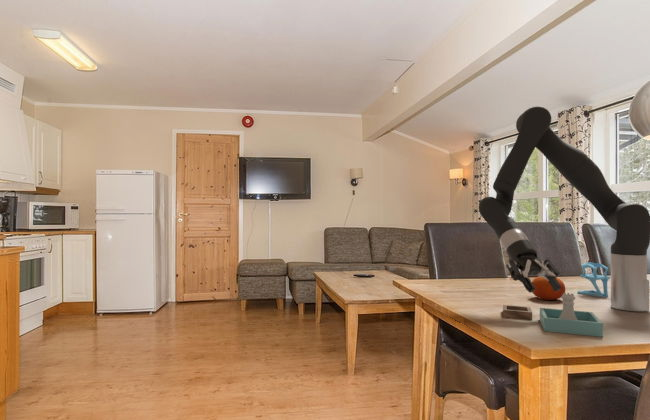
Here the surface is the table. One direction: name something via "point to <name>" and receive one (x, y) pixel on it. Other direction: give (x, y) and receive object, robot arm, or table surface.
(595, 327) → the tray
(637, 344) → the table surface
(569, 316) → the rook chess piece
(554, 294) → the fruit
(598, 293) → the chair
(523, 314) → the socket collar
